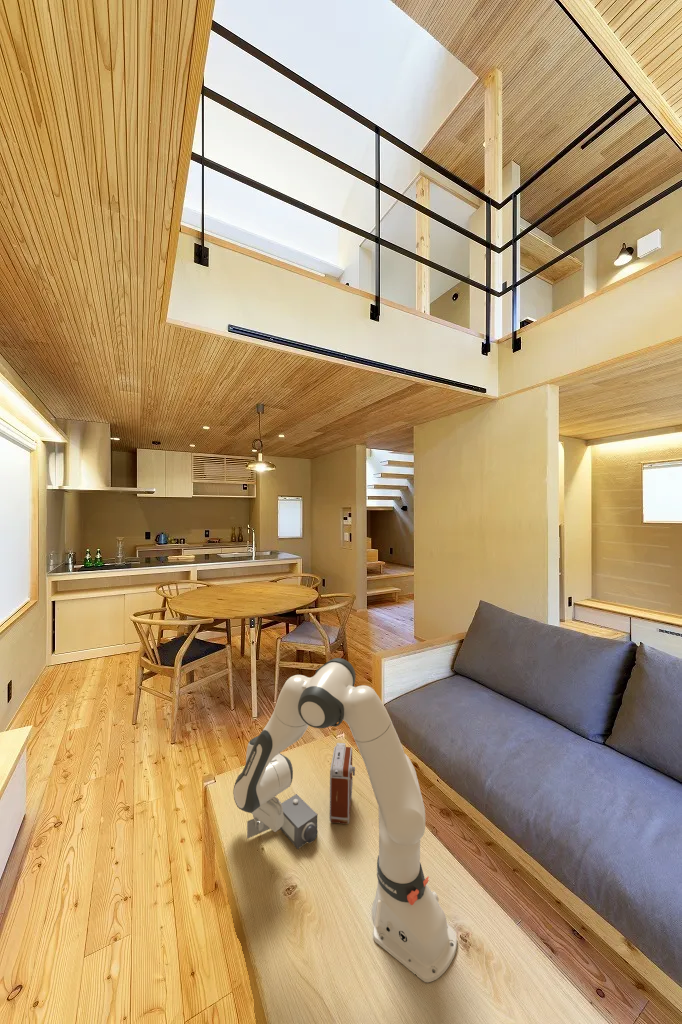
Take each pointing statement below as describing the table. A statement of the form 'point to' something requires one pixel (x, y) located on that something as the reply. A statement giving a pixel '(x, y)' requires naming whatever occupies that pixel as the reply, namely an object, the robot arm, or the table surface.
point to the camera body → (299, 821)
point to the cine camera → (341, 784)
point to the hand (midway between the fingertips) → (259, 828)
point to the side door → (254, 828)
